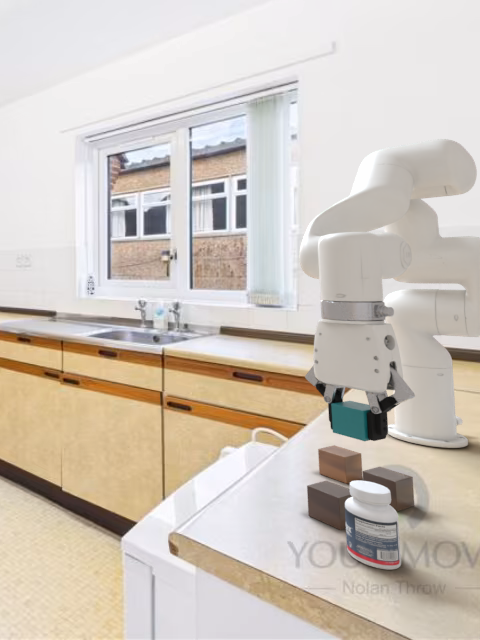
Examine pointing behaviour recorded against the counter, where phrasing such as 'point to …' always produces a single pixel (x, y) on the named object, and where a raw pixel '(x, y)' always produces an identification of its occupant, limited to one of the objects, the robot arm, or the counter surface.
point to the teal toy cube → (350, 419)
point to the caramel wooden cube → (340, 464)
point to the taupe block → (393, 486)
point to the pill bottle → (372, 526)
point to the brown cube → (328, 503)
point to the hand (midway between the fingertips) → (357, 432)
